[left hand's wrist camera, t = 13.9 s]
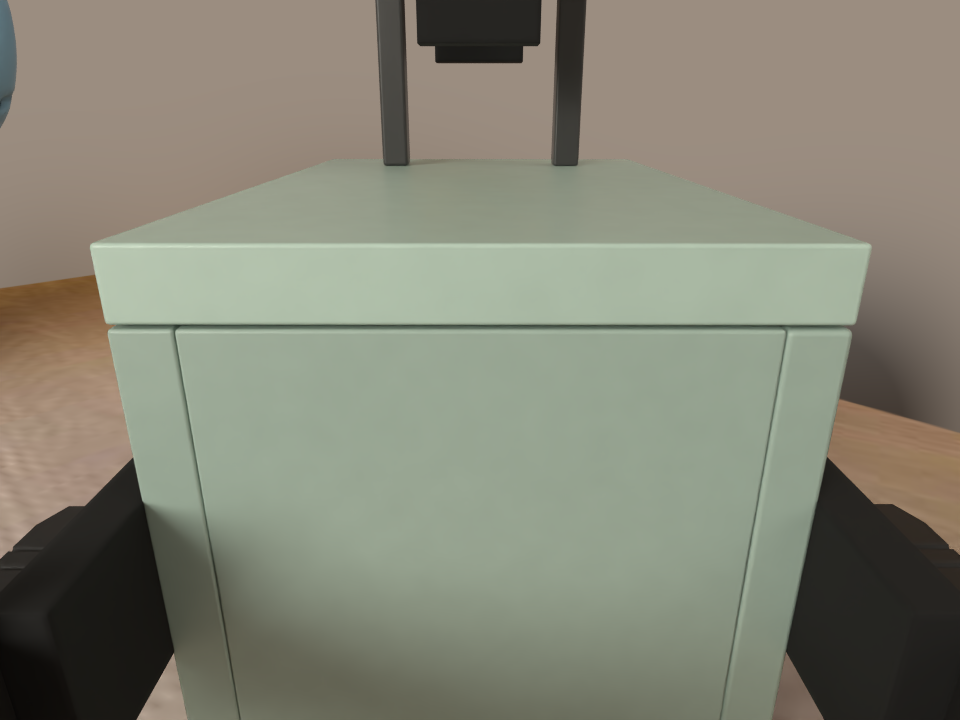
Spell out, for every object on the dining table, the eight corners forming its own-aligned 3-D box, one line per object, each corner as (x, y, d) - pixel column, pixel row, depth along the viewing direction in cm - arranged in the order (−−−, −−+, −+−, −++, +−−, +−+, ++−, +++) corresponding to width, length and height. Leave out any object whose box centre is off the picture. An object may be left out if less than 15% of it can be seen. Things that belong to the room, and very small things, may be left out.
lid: (334, 192, 22) (309, -140, 18) (626, 192, 22) (652, -140, 18) (103, 325, 8) (-125, -769, 5) (857, 326, 8) (1089, -769, 5)
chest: (351, 493, 25) (328, 197, 21) (609, 493, 25) (633, 198, 21) (220, 883, 12) (105, 330, 8) (739, 883, 12) (856, 330, 8)
